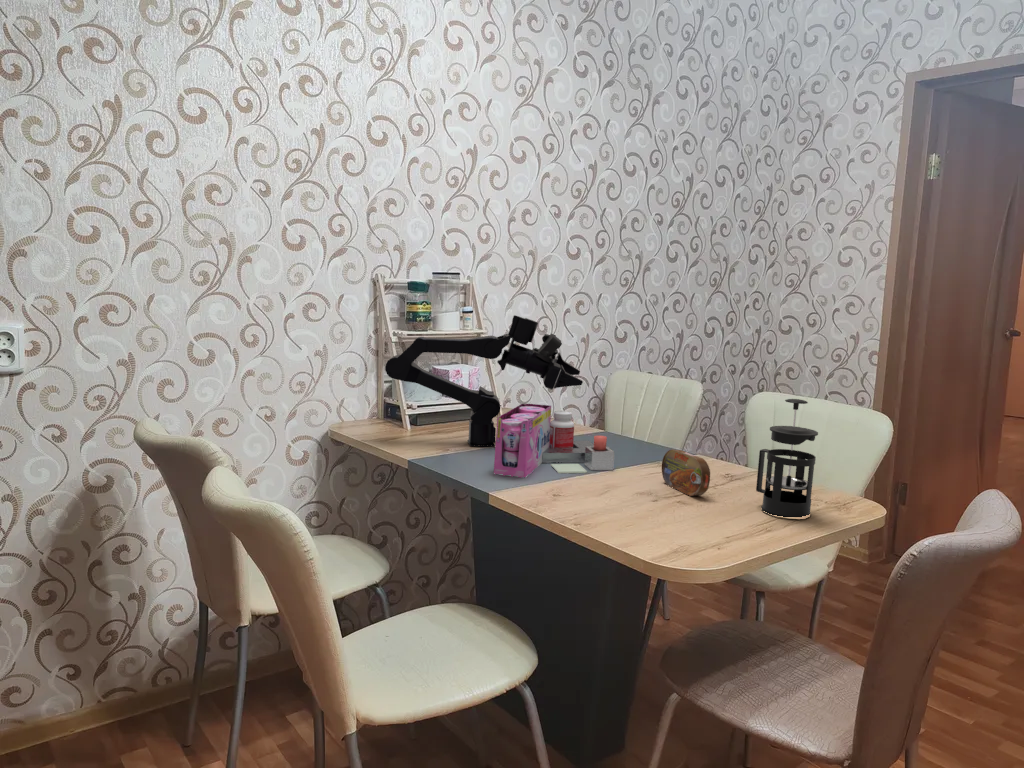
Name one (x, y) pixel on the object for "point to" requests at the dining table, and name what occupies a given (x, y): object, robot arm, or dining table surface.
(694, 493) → the tin
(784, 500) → the french press
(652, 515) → the dining table surface
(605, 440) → the button
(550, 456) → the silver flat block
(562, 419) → the pill bottle
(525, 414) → the gum box
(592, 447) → the housing
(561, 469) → the pad
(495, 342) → the robot arm
